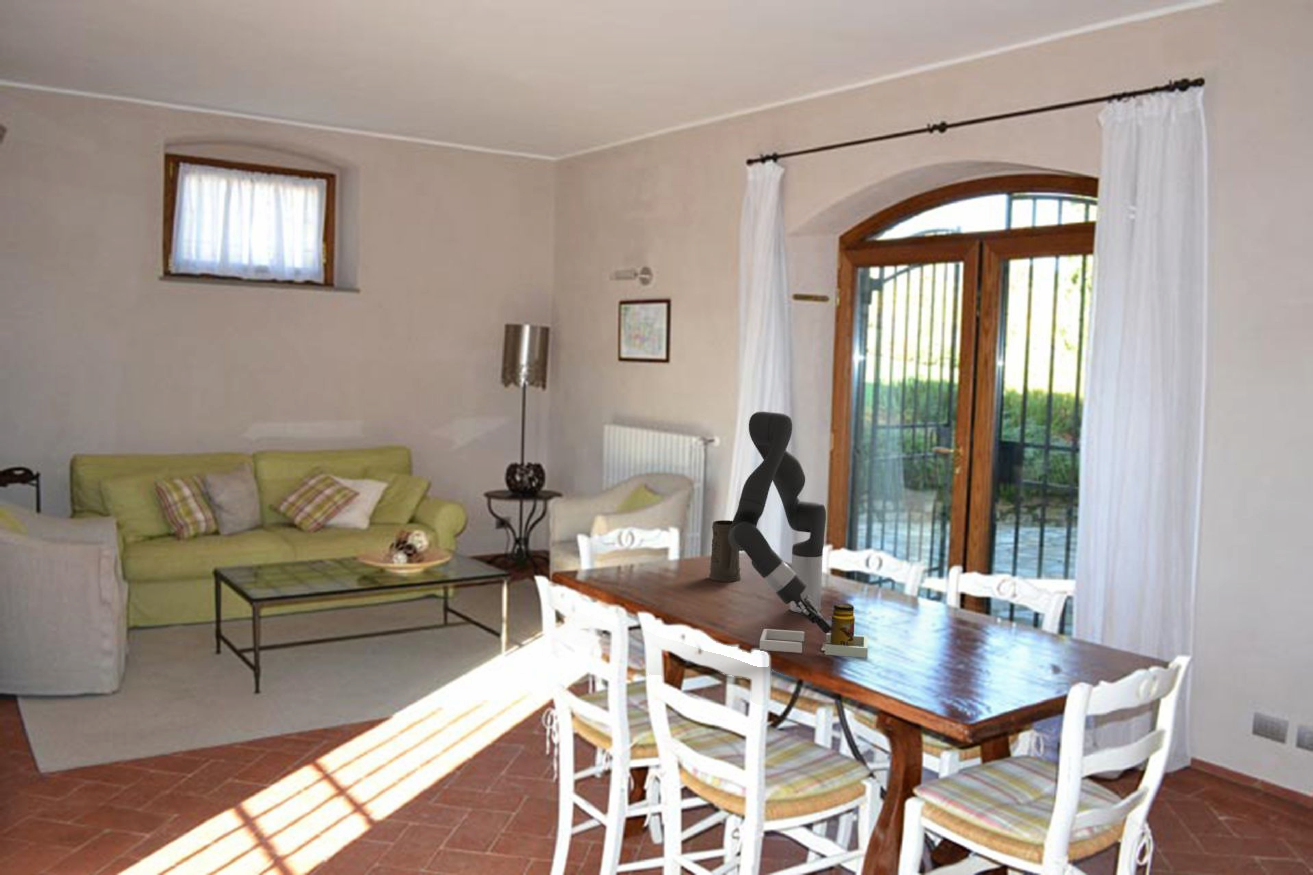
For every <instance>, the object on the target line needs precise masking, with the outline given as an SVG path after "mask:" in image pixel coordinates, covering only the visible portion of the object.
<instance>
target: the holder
mask: <svg viewBox="0 0 1313 875" xmlns="http://www.w3.org/2000/svg"><path fill="white" fill-rule="evenodd" d="M804 641H805V631H803V630H802V631H800V630H787V629H786V630H785V629H772V628H764V629H763V631H762V633H761V636H760V639H759V650H760V649H764V650H763V651H771V652H772V651H774V652H775V651H776V652H785V653H800V654H802V653H803V652H802V651H803V642H804Z"/></svg>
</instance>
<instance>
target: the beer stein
mask: <svg viewBox="0 0 1313 875" xmlns="http://www.w3.org/2000/svg"><path fill="white" fill-rule="evenodd" d="M732 522H733V520H725V519H724V520H715V521H713V522H712V526H711V529H712V540H711V556H710V567H709V569H710V570H709V571H710V573H709V576H708V577H709V579H710V580H711V581H716V582H724V583H726V582H730V583H733V582H738V581H740V580H741V579H742V578H741V577H742V576H741V566H740V551H737V550H735V549H733V548H732V547H731V546H730V544H729V541H728V534H729V530H730V527H731V524H732Z"/></svg>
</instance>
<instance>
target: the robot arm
mask: <svg viewBox="0 0 1313 875" xmlns="http://www.w3.org/2000/svg"><path fill="white" fill-rule="evenodd" d="M748 433H749V437H750V439H751V441H752V443H753V445H754V446H755V448H756V449H757V451H758V453H759V454H760V456H761V458H762V462H761V463H760V464H758V466H757V468H755V470H753V471H752V472H751V474H750V475H749V476H748V477H747V479H746V480H745V482H744V484H743V487H742V490H741V493H740V498H739V500H738V505H737V510H736V512H735V515H734V517H733V519H732V521H733V522H732V524H731V527H730V530H729V534H728V541H729V544H730V546H731V547H732V548H733V549H735V550H737V551H739V552H745V554H746V555H747V556H748V558H749V559H750V561H751V565H752V567H753V568H754V570H756V571H757V573H758V574H759V575H760V576H761V578H763V580H764V581H765V582H766V584H767V585H768V587H770V589H771V590H772V591H773V592H774V593H775V595H776V596H777V597H778V598H780V600H781V601H782V602H783V603H784V604H785V605H789V610H790V611H792V612H793V613H794V612H795V613H799V614H800V615H802V616H803V617H804V618H806V619H807V620H808V621H809V622H810V623H812V624H815V625H817V626H818V627H819V629H820V630H821V631H823V633H824V634H825V635H826V634H827V633H829V632H831V625H830V624H829V622H828V621H827V620H826V619H825V618H824V617H823V614H822V611H821V605H822V582H823V581H822V580H823V579H822V578H823V553H824V545H825V532H826V520H827V511H826V507H825V505H824V504H823V503H820V502H813V501H805V500H804V501H803V500H800V499H799V497H798V496H799V495H800V494H801V492H802V491H803V489H804V487H805V484H806V476H805V472H804V469H803V467H802V465H801V463H800V461H799V460H798V458H797V457H796V456H795V455H794V454H793V453H792V452H790V451H789V450H787V448H788V445H789V442H790V440H791V438H792V434H793V421H792V418H791V417H790V415H789V414H786V413H781V412H771V411H757V412H754V413H753V414H752V415H751V416H750V418H749V420H748ZM772 483H773V484H774V486H775V489H776V491H777V493H778V495H779V498H780V501H781V503H782V505H783V506H782V507H783V510H784V513H785V516H786V517H785V518H786V521H787V523H788V525H789V527H790V528H791V530H792V531H795V532H802V533H808V534H809V538H807V539H806V540H804V541H800V542H797V543H794V544H793V545H792V547H791V548H792V549H791V550H792V551H791V567H790V565H788V564H787V563H786V562H785V561H784V560H783V559H782V558H781V557H780V556H779V554H777V553H776V552H775V550H773V549H772V547H771V546H770V544H769V542H768V541H767V539H766V538H765V536H764V534H763V533H762V532H761V530H759V528H758V527H757V525H758V522H759V520H760V518H761V517H762V515H763V513H764V511H765V507H766V503H767V500H768V497H769V496H768V495H769V492H770V488H771V486H772Z"/></svg>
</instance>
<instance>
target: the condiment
mask: <svg viewBox="0 0 1313 875" xmlns="http://www.w3.org/2000/svg"><path fill="white" fill-rule="evenodd" d="M854 609H855V607H854V605H853V604H850V603H845V602H844V603H842V602H841V603H840V602H838V603H835V604H834V605H833V613H832V615H831V623H830V624H831V625H830V626H831V630H830V632H831V633H830V634H831V643H826V642H823V644H822V647H821V651H825V644H830V645H843V646H854V645H853V641H854V635H855V621H856V620H855V619H856V618H855V615H854V613H855V612H854V611H855V610H854Z"/></svg>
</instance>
